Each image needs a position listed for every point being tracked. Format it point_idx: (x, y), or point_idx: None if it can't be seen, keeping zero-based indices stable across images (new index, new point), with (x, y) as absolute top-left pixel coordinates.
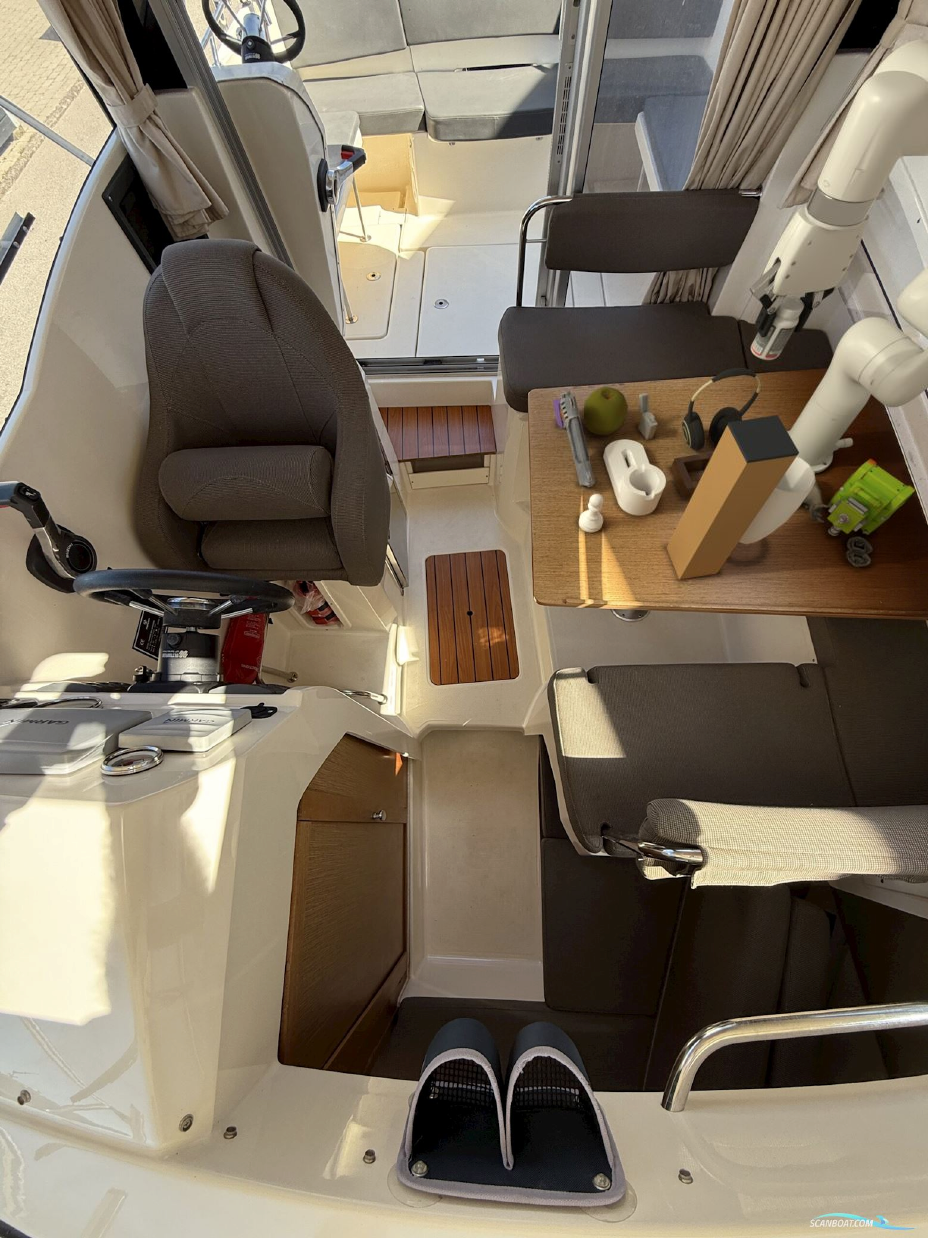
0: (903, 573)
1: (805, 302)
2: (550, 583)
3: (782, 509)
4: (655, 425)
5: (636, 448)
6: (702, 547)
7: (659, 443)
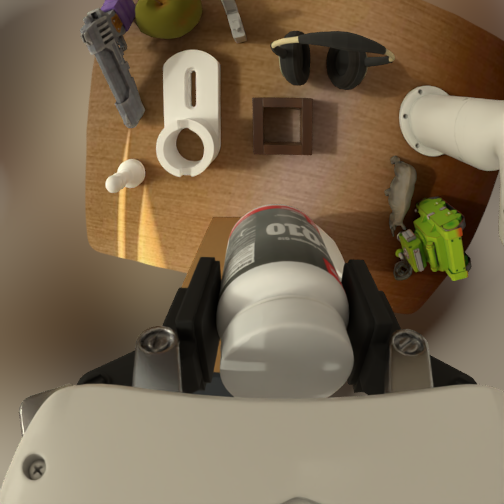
0: (427, 285)
1: (365, 366)
2: (93, 238)
3: None
4: (241, 36)
5: (207, 67)
6: None
7: (253, 52)
